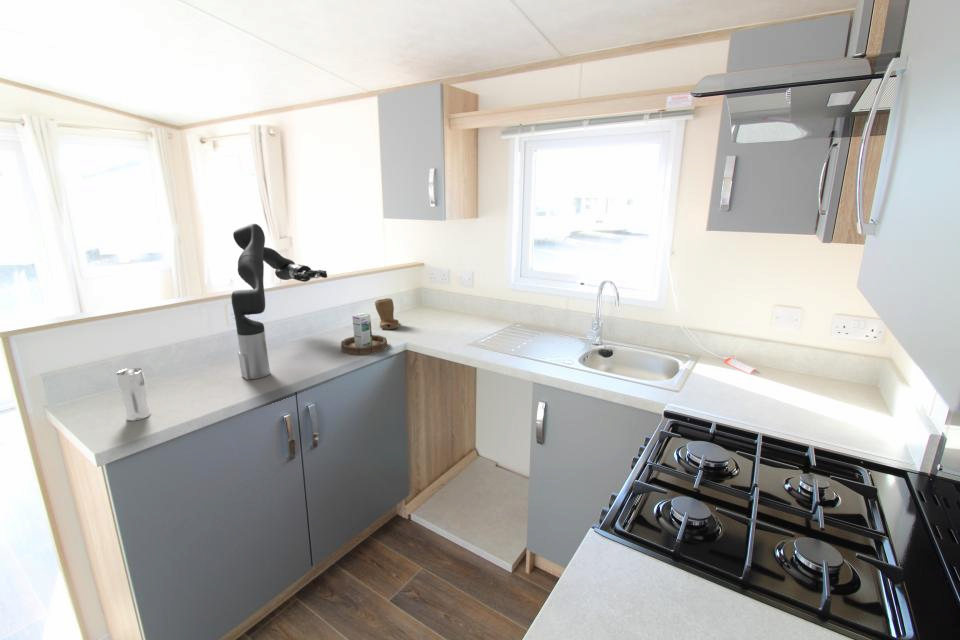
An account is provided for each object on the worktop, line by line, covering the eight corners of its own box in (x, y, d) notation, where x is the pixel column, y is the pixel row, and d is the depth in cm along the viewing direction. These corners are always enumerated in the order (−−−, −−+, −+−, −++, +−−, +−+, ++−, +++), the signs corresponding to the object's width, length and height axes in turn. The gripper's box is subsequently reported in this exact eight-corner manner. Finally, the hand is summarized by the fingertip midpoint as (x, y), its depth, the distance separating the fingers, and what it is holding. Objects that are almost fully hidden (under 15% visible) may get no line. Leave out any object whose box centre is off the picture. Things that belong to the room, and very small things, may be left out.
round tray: (357, 358, 193) (356, 351, 192) (333, 347, 206) (332, 341, 206) (395, 347, 207) (395, 341, 206) (371, 338, 220) (370, 332, 220)
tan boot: (377, 323, 247) (375, 296, 244) (399, 322, 249) (398, 295, 245) (375, 331, 233) (373, 302, 229) (398, 330, 235) (397, 301, 231)
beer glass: (119, 419, 140) (109, 373, 136) (142, 410, 146) (133, 366, 142) (134, 423, 137) (124, 377, 133) (157, 413, 143) (148, 369, 140)
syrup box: (362, 348, 202) (360, 316, 199) (354, 345, 206) (352, 314, 202) (372, 345, 207) (370, 314, 203) (364, 342, 210) (362, 312, 207)
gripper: (284, 266, 207) (300, 270, 196) (314, 263, 217) (331, 266, 206) (286, 282, 209) (302, 287, 198) (315, 278, 219) (332, 282, 208)
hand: (317, 276), depth 202 cm, fingers open, 8 cm apart
